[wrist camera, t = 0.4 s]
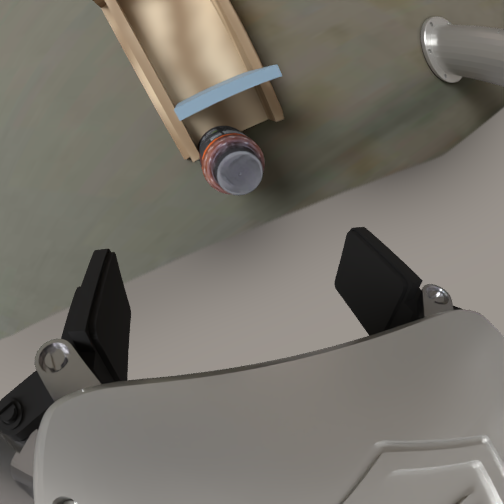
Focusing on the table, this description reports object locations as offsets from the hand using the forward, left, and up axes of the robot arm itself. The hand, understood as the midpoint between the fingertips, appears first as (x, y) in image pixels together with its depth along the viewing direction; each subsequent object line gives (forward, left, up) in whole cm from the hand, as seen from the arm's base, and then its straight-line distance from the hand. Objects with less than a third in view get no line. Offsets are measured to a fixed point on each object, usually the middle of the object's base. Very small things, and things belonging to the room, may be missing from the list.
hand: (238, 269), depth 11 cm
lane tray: (-4, -11, -25) cm, 28 cm away
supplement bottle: (-2, +2, -25) cm, 25 cm away
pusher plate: (-4, -5, -24) cm, 25 cm away
